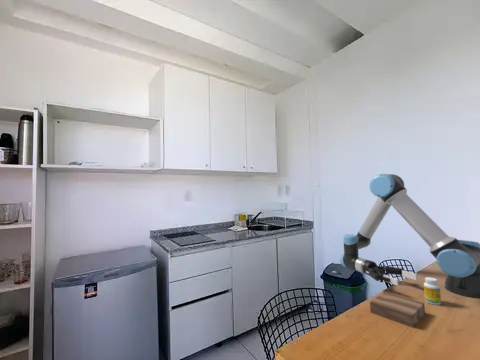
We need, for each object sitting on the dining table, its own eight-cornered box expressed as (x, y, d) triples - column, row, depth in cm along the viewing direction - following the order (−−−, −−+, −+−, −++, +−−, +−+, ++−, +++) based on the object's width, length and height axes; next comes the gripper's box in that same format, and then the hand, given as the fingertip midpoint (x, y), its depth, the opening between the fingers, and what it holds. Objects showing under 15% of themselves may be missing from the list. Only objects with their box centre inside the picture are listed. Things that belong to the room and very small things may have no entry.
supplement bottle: (427, 298, 104) (426, 275, 105) (443, 302, 100) (441, 279, 100) (422, 301, 101) (420, 278, 102) (438, 306, 97) (436, 282, 97)
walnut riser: (384, 301, 102) (384, 291, 102) (425, 313, 91) (424, 302, 92) (370, 312, 94) (369, 301, 94) (412, 327, 83) (412, 315, 83)
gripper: (382, 270, 134) (424, 283, 114) (350, 278, 124) (389, 293, 104) (381, 256, 134) (423, 267, 115) (349, 263, 124) (388, 276, 105)
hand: (407, 279), depth 110 cm, fingers open, 13 cm apart
